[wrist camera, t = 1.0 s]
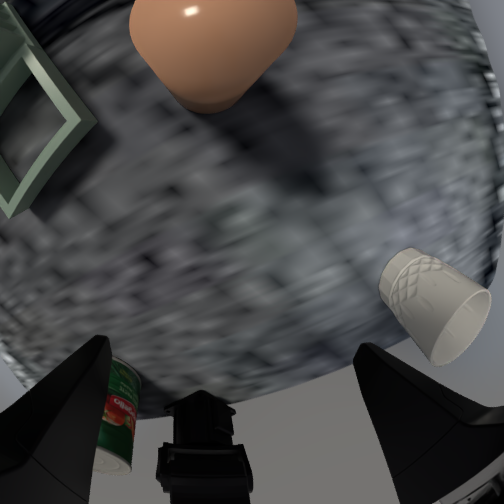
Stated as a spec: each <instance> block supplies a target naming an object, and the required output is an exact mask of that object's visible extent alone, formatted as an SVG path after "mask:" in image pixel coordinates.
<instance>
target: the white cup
mask: <svg viewBox="0 0 504 504" xmlns="http://www.w3.org/2000/svg"><path fill="white" fill-rule="evenodd" d="M379 292H380V297H381V299H382V300H383V301H384V302H385V304H386V305H387V306H388V307H389V308H390V309H391V311H392V312H393V313H394V315H395V317H396V318H397V320H398V321H399V322H400V324H401V325H402V326H403V328H404V329H405V330H406V332H407V333H408V334H409V335H410V337H411V338H412V339H413V341H414V342H415V343H416V344H417V346H418V347H419V348H420V349H421V351H422V352H423V353H424V355H425V356H426V357H427V359H428V360H429V361H430V363H431V364H432V365H433V366H435V367H441V366H443V365H446V364H448V363H450V362H452V361H453V360H454V359H456V358H457V357H458V356H459V355H461V354H462V353H463V351H465V350H466V349H467V347H468V346H469V345H470V344H471V343H472V342H473V341H474V339H475V338H476V336H477V335H478V333H479V332H480V330H481V329H482V327H483V325H484V323H485V320H486V319H487V316H488V314H489V310H490V307H491V294H490V292H489V291H488V290H487V289H486V288H484V287H483V286H481V285H479V284H478V283H476V282H475V281H473V280H472V279H470V278H469V277H467V276H466V275H464V274H462V273H461V272H459V271H458V270H456V269H454V268H453V267H451V266H449V265H447V264H445V263H443V262H442V261H440V260H439V259H437V258H434V257H432V256H430V255H428V254H427V253H425V252H423V251H421V250H419V249H415V248H408V249H405V250H403V251H400V252H399V253H398V254H396V255H395V256H394V257H393V258H392V259H391V260H390V261H389V262H388V264H387V266H386V267H385V269H384V271H383V272H382V274H381V279H380V283H379Z"/></svg>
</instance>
